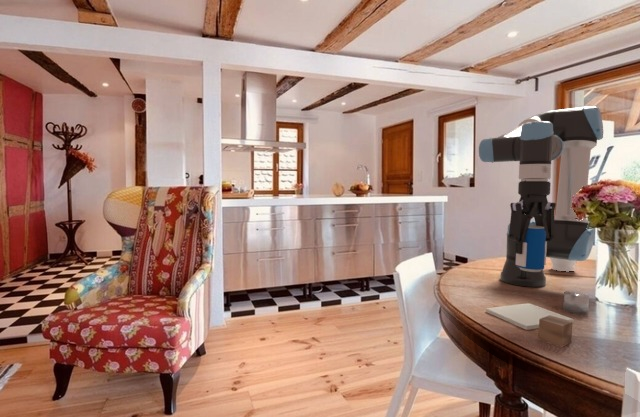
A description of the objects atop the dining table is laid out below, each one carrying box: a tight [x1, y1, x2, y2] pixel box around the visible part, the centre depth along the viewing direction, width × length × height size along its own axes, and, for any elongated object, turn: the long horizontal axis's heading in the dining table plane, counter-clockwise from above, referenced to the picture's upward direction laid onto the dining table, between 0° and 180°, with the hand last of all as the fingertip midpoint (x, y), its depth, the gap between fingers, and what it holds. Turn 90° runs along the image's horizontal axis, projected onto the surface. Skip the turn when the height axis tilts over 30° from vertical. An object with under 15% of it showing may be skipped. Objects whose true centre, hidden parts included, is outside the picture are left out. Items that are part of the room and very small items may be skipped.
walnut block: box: [537, 315, 574, 348], centre depth 87 cm, size 5×5×5 cm
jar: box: [550, 258, 578, 273], centre depth 160 cm, size 11×10×15 cm
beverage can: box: [517, 225, 546, 272], centre depth 102 cm, size 6×6×12 cm
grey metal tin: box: [562, 290, 590, 315], centre depth 108 cm, size 6×6×5 cm
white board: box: [485, 302, 574, 331], centre depth 103 cm, size 16×14×1 cm
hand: (530, 264), depth 102 cm, fingers closed on beverage can, 6 cm apart
